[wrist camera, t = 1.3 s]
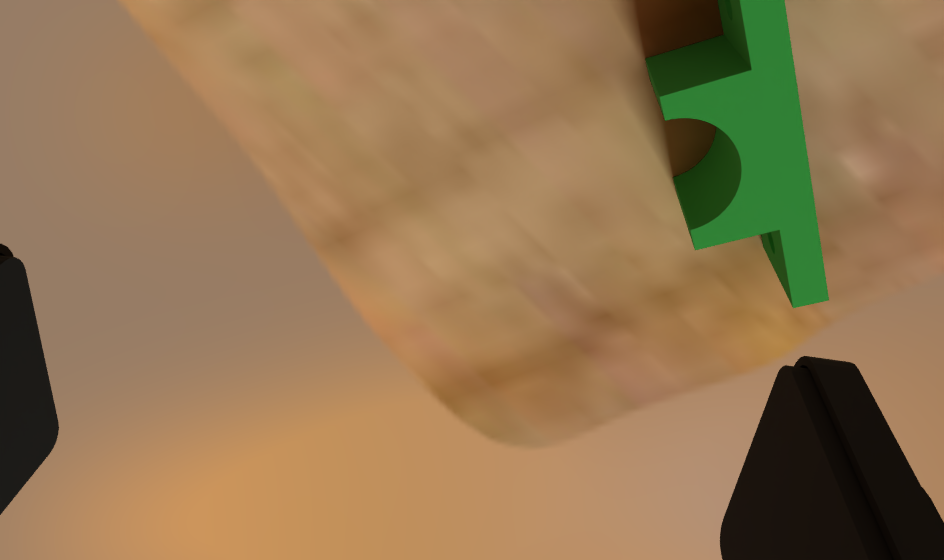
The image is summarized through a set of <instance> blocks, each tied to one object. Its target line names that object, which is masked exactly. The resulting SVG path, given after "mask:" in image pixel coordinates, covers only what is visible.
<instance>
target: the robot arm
mask: <svg viewBox="0 0 944 560" xmlns="http://www.w3.org/2000/svg"><path fill="white" fill-rule="evenodd" d="M58 430H59V426H58V419H57V414H56V409H55V404H54V400H53V395H52V391H51V386H50V381H49V376H48V372H47V367H46V363H45V358H44V353H43V349H42V344H41V340H40V335H39V330H38V325H37V321H36V316H35V311H34V307H33V303H32V297H31V293H30V288H29V284H28V279H27V275H26V270H25V267H24V265H23V263H22V262H21V260H19V259H17V258H15V257H13V254H12V252H11V251H10V250H9V248H8V247H7V246H5V245H2V244H0V515H1V513H2V512H3V511H4V509H5V508H6V507H7V506H8V505H9V503H10V502H11V501H12V500H13V498H14V497H15V496H16V495H17V493H18V492H19V491H20V490H21V488H22V487H23V486H24V485H25V484H26V482H27V481H28V480H29V479H30V477H31V476H32V475H33V474H34V472H35V471H36V470H37V469H38V467H39V466H40V465H41V464H42V462H43V461H44V460H45V459H46V457H47V456H48V455H49V454H50V452H51V451H52V449H53V447H54V445H55V443H56V440H57V436H58ZM720 548H721V555H722V559H723V560H944V522H943V520H942V519H941V517H940V515H939V513H938V511H937V509H936V507H935V506H934V504H933V502H932V500H931V498H930V497H929V496H928V494H927V493H926V492H925V490H924V489H923V488H922V487H921V485H920V483H919V482H918V480H917V478H916V476H915V474H914V472H913V470H912V468H911V467H910V465H909V463H908V461H907V459H906V457H905V455H904V453H903V452H902V450H901V448H900V446H899V444H898V443H897V440H896V439H895V437H894V435H893V433H892V431H891V430H890V427H889V425H888V424H887V422H886V420H885V418H884V416H883V414H882V412H881V410H880V409H879V407H878V405H877V403H876V402H875V399H874V397H873V396H872V394H871V392H870V390H869V388H868V386H867V384H866V382H865V380H864V379H863V377H862V375H861V373H860V371H859V369H858V368H857V367H856V365H855V364H853V363H850V362H845V361H837V360H830V359H823V358H816V357H809V356H803V357H801V358H800V359H799V360H798V361H797V362H796V364H795V365H794V366H786V365H785V366H783V367H782V368H781V369H780V370H779V372H778V374H777V377H776V379H775V382H774V385H773V387H772V390H771V393H770V395H769V398H768V401H767V404H766V406H765V409H764V411H763V414H762V417H761V420H760V422H759V425H758V428H757V430H756V433H755V436H754V438H753V441H752V444H751V447H750V449H749V452H748V454H747V457H746V460H745V463H744V465H743V468H742V471H741V473H740V476H739V478H738V481H737V484H736V486H735V489H734V492H733V494H732V497H731V500H730V503H729V506H728V508H727V510H726V513H725V516H724V519H723V522H722V526H721V533H720Z"/></svg>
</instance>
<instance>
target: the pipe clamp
mask: <svg viewBox="0 0 944 560" xmlns="http://www.w3.org/2000/svg"><path fill="white" fill-rule="evenodd" d="M717 1H718V6H719V11H720V17H721V22H722V27H723V33H724V35H721V36H718V37H715V38H711V39H708V40H705V41H702V42H698V43H695V44H692V45H688V46H685V47H682V48H679V49H675V50H672V51H669V52H666V53H662V54H659V55H656V56H652V57H649V58H646V59H645V60H646V65H647V69H648V73H649V77H650V81H651V84H652V86H653V89H654V92H655V95H656V97H657V100H658V103H659V105H660V108H661V111H662V114H663V116H664V119H665V121H666V120H670V119H677V118H692V119H698V120H702V121H705V122H708V123H710V124H713V125H714V126H716V134H715V138H714V141H713V143H712V146H711V148H710V149H709V151H708V153H707V154H706V155H705V157H704V158H703V159H702V160H701V161H700V162H699V163H698V164H697V165H696V166H695V167H693V168H692V169H690V170H689V171H687V172H685V173H683V174H681V175H678V176H675V177H673V179H674V184H675V188H676V192H677V196H678V199H679V202H680V205H681V208H682V212H683V215H684V218H685V221H686V224H687V227H688V230H689V233H690V236H691V239H692V242H693V245H694V248H695V250H698V249H702V248H707V247H711V246H715V245H719V244H723V243H727V242H731V241H735V240H739V239H743V238H747V237H752V236H756V235H760V234H761V237H762V242H763V247H764V249H765V251H766V253H767V255H768V258H769V260H770V262H771V264H772V266H773V268H774V270H775V272H776V274H777V276H778V278H779V280H780V282H781V284H782V286H783V288H784V290H785V292H786V294H787V296H788V298H789V300H790V303H791V305H792V307H793V308H796V307H801V306H805V305H810V304H814V303H819V302H823V301H828V300H829V297H828V290H827V284H826V277H825V270H824V263H823V257H822V250H821V243H820V237H819V230H818V223H817V216H816V210H815V203H814V196H813V189H812V183H811V176H810V169H809V162H808V156H807V149H806V142H805V136H804V129H803V122H802V115H801V109H800V102H799V95H798V88H797V82H796V75H795V68H794V61H793V55H792V48H791V41H790V35H789V28H788V21H787V14H786V8H785V1H784V0H717Z"/></svg>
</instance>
